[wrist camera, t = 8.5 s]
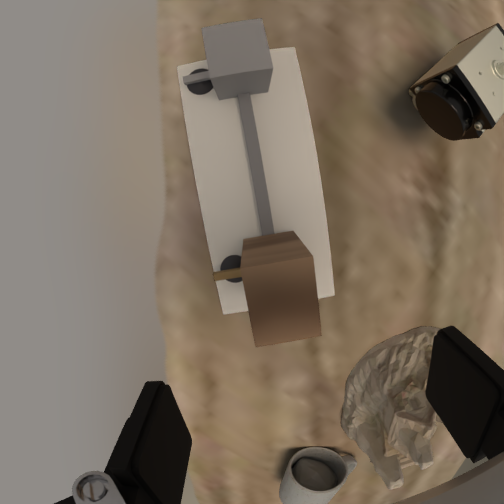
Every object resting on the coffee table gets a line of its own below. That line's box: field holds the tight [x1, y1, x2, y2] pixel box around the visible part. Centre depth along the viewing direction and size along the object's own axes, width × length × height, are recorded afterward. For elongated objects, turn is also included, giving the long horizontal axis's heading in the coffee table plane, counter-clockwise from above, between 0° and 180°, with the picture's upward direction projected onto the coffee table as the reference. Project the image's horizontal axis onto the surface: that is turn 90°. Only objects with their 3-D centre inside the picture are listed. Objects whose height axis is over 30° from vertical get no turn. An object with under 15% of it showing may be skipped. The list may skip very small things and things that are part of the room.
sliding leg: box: [213, 231, 322, 347], centre depth 21 cm, size 5×7×8 cm
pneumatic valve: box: [409, 23, 504, 140], centre depth 18 cm, size 6×12×12 cm, turn 135°
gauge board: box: [177, 18, 335, 315], centre depth 22 cm, size 22×10×7 cm, turn 10°
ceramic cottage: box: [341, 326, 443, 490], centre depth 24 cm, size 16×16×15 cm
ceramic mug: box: [279, 447, 357, 504], centre depth 31 cm, size 11×8×8 cm
